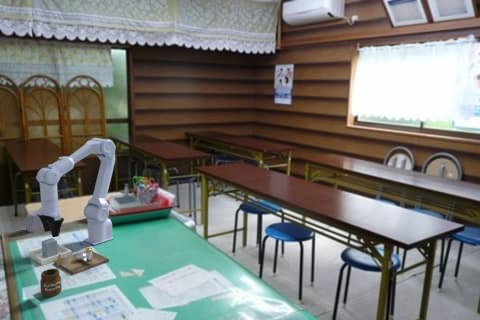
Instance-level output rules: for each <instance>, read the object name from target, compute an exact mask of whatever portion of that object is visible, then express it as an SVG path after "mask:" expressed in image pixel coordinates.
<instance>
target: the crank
mask: <svg viewBox="0 0 480 320" xmlns="http://www.w3.org/2000/svg"><path fill="white" fill-rule="evenodd" d="M85 250H86V252H82V251H79V252H76V253H77V254H76V253H75V254H76V260H77V261H79V262H81V261H83V262H85V263H87V264H90V263H92V251H93V248H92V247H87V248H86V249H85Z"/></svg>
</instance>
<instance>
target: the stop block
mask: <svg viewBox="0 0 480 320" xmlns="http://www.w3.org/2000/svg"><path fill="white" fill-rule="evenodd" d="M57 244H58V240H56V239H55V238H54V237H51V238H48V239H43V240H41V248H42V255H43V256H44V257H46V258H49V257H52V256H55V255H58V249H57Z"/></svg>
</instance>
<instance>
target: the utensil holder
mask: <svg viewBox="0 0 480 320" xmlns="http://www.w3.org/2000/svg"><path fill="white" fill-rule="evenodd" d="M60 258H61V255H60V254H59V256H58V260H57V265H56V268H47V269H46V267H49V266H48V264H46V266H45V265H44V264H43V265H41V264H39V265H38V267H40V270H41V271H40V272H41V274H40V277H41V278H40V280H39V281H40V282H39V284H40V286H39V287H40V294H41V296H42V297H45V298H48V297H49V298H50V297H55V296H57V295H59V294H60V293H62V292H61V291H62V277H61V274H60V270H59V266H58V265H59V264H60ZM43 262H44V261H43ZM40 263H42V262H40ZM44 263H45V262H44ZM41 267H42V268H41ZM43 269H44V270H43Z"/></svg>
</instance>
